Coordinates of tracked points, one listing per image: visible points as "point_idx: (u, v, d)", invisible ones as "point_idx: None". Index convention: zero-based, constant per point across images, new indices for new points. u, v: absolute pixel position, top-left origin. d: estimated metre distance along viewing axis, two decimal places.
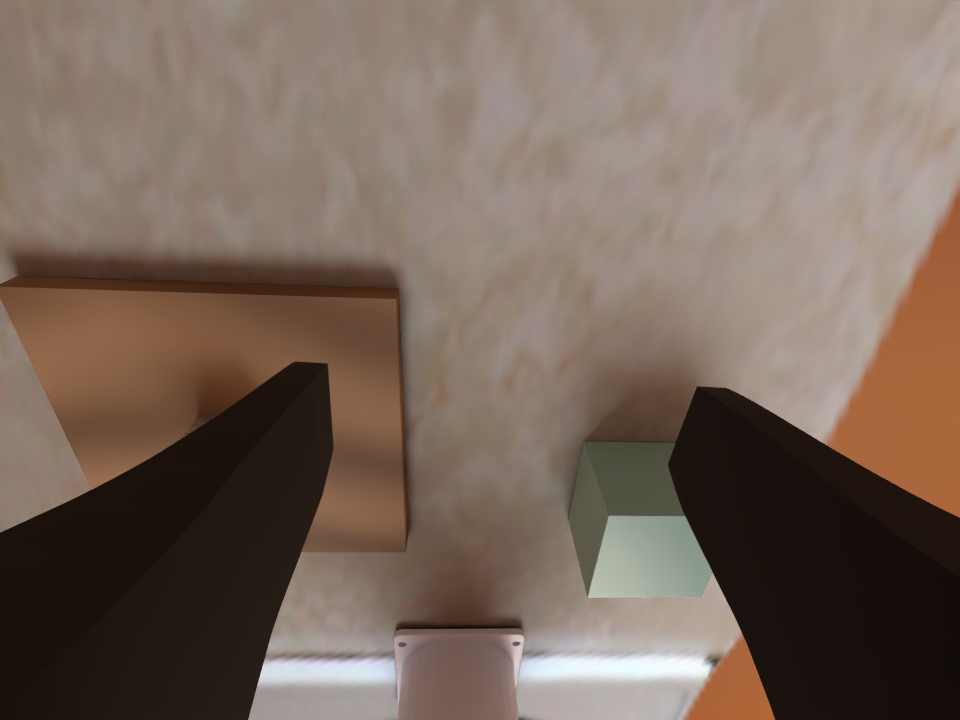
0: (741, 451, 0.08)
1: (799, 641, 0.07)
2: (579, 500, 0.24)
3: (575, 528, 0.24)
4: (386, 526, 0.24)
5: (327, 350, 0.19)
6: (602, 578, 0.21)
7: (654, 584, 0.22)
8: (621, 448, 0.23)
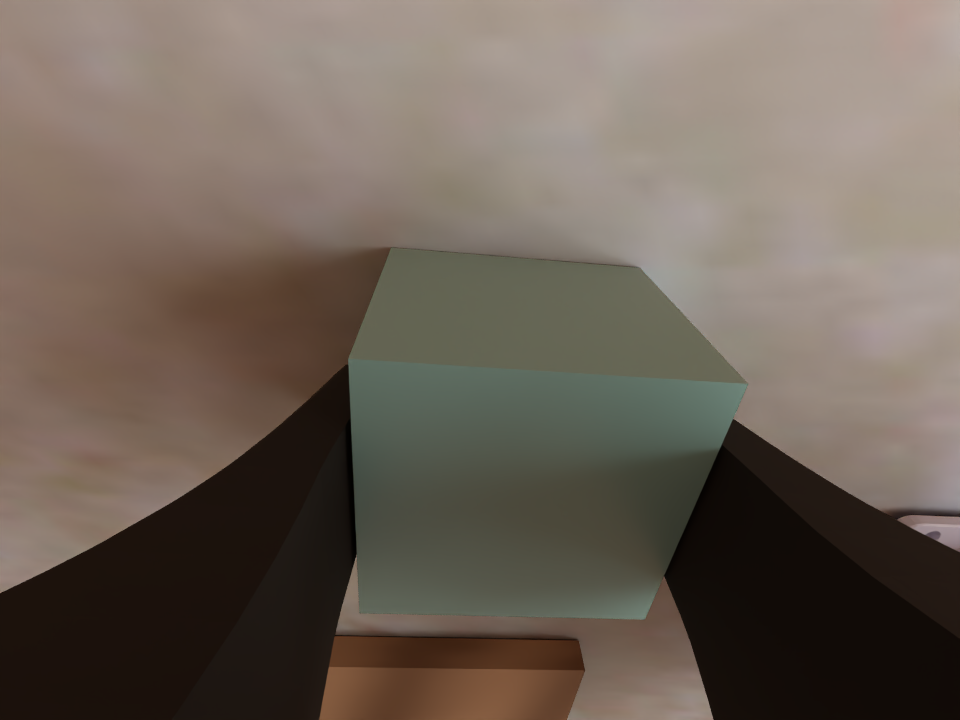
0: None
1: (734, 640, 0.07)
2: None
3: None
4: (524, 684, 0.17)
5: None
6: (578, 603, 0.09)
7: (634, 508, 0.08)
8: None
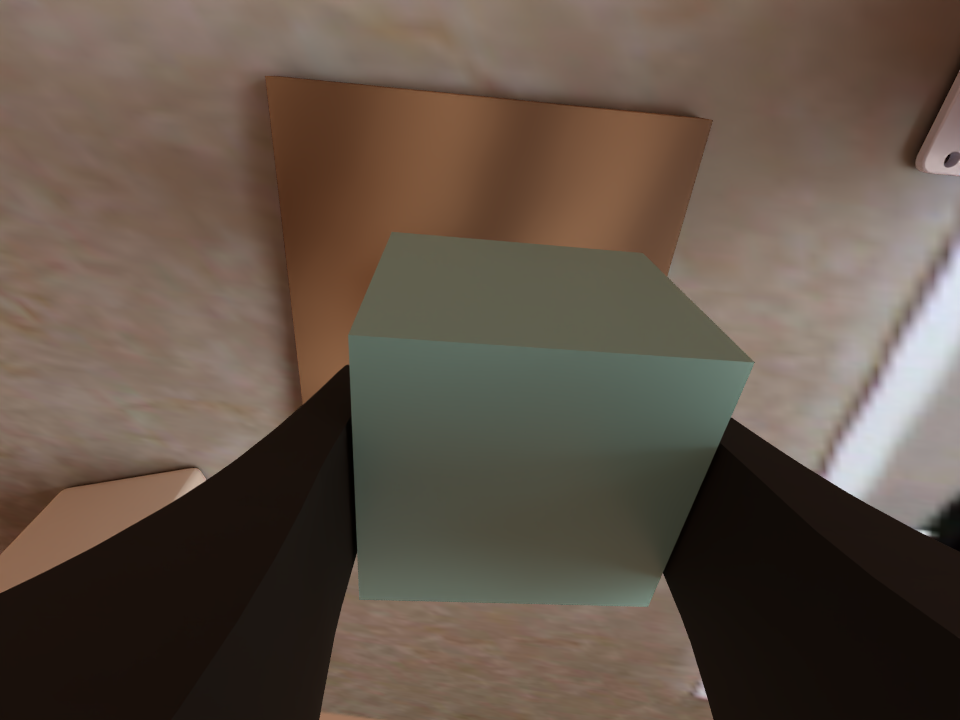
0: None
1: (734, 640, 0.07)
2: None
3: None
4: (648, 145, 0.16)
5: (345, 177, 0.16)
6: (580, 589, 0.09)
7: (638, 492, 0.07)
8: None
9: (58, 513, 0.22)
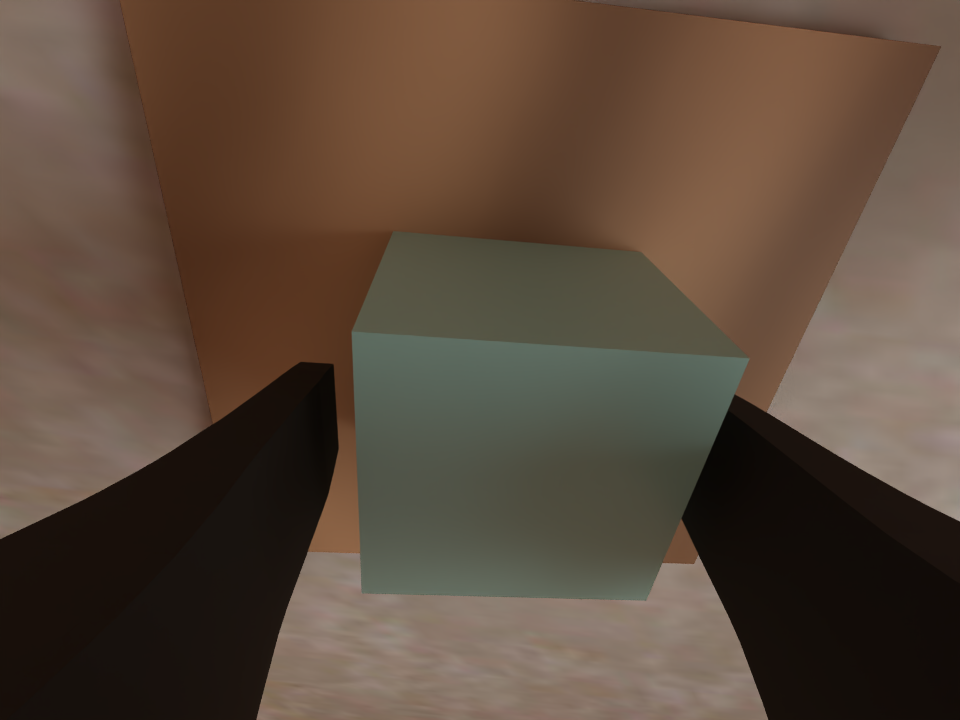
0: (735, 451, 0.08)
1: (792, 641, 0.07)
2: None
3: None
4: (818, 92, 0.09)
5: (275, 145, 0.09)
6: (579, 583, 0.09)
7: (636, 486, 0.08)
8: None
9: None
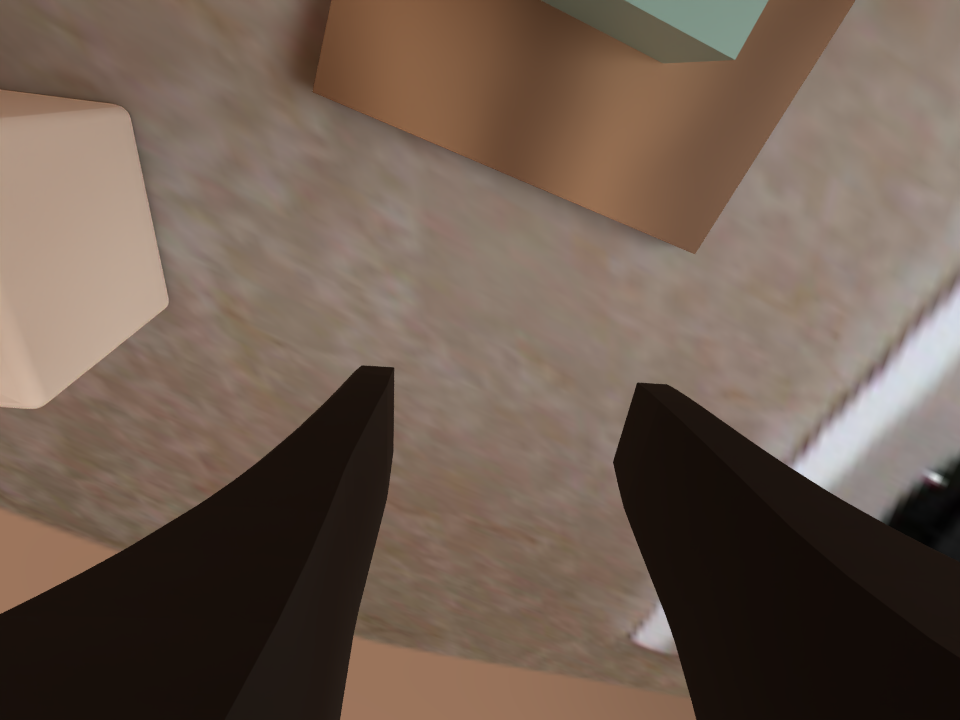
0: (671, 447, 0.08)
1: (716, 639, 0.07)
2: (601, 24, 0.13)
3: (656, 50, 0.14)
4: None
5: None
6: (696, 10, 0.11)
7: None
8: None
9: None
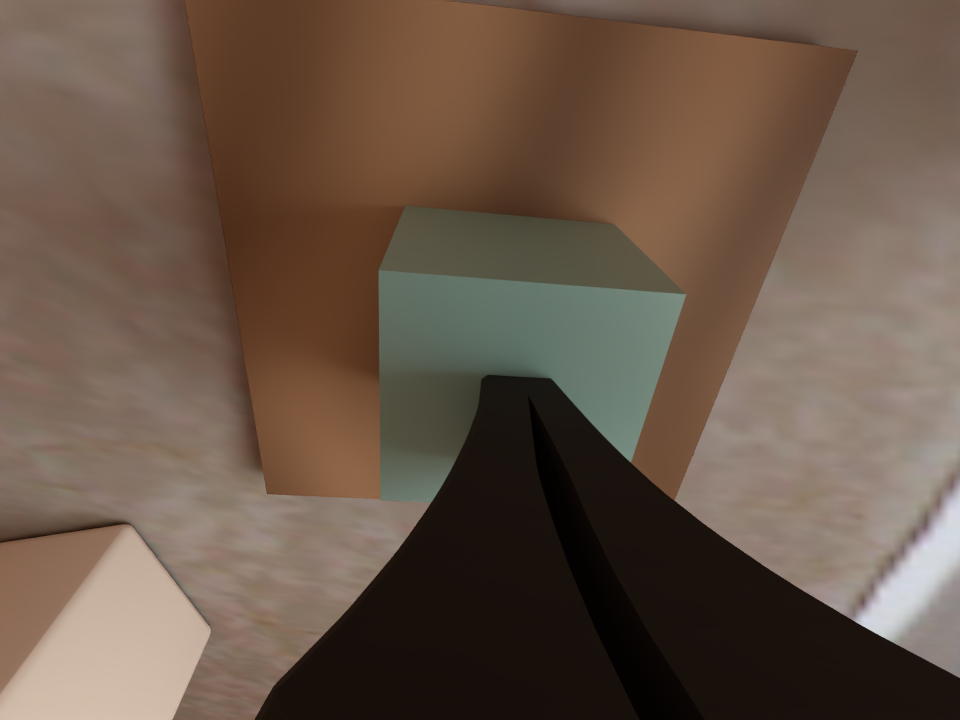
0: None
1: None
2: None
3: None
4: (758, 88, 0.11)
5: (308, 132, 0.11)
6: None
7: (602, 404, 0.10)
8: None
9: None
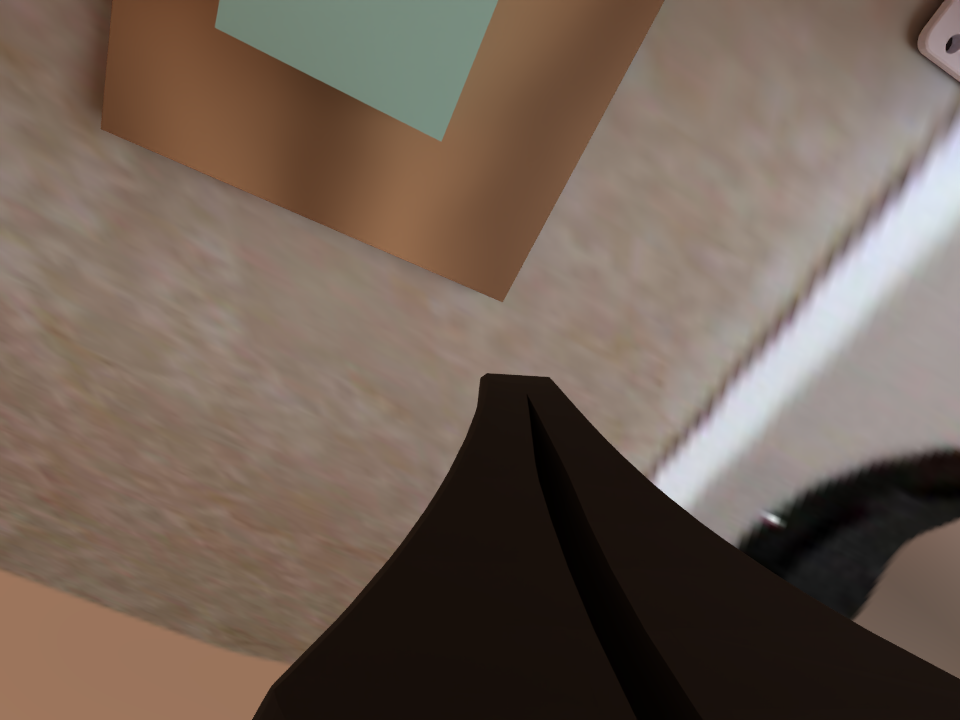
0: None
1: None
2: None
3: None
4: None
5: None
6: (394, 95, 0.11)
7: None
8: None
9: None
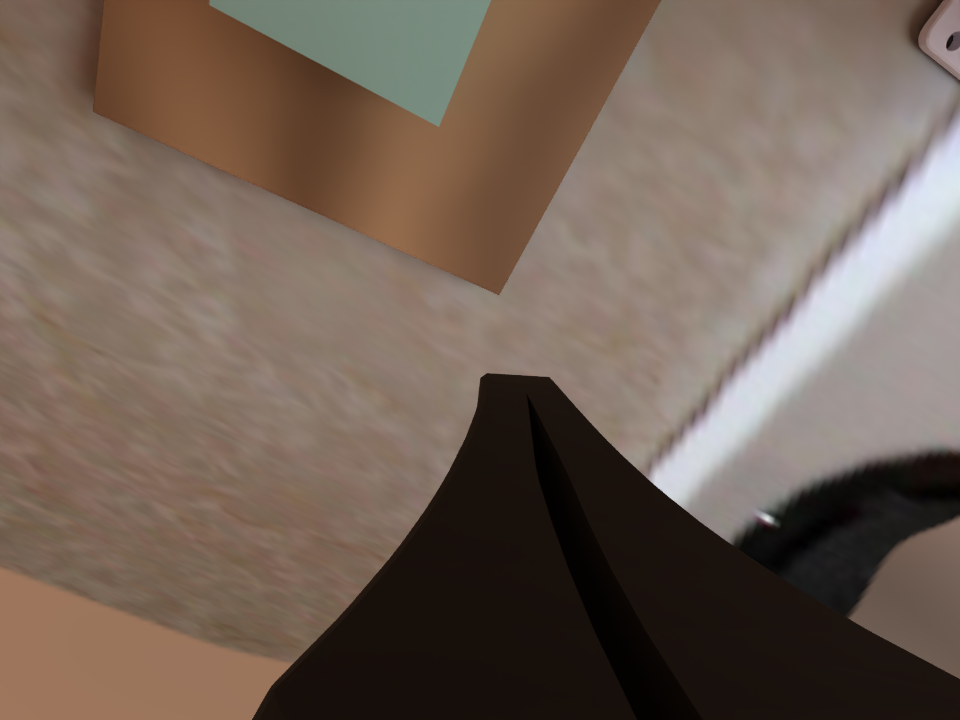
0: None
1: None
2: None
3: None
4: None
5: None
6: (391, 78, 0.11)
7: None
8: None
9: None
